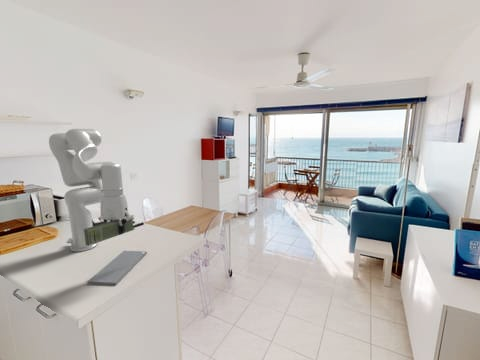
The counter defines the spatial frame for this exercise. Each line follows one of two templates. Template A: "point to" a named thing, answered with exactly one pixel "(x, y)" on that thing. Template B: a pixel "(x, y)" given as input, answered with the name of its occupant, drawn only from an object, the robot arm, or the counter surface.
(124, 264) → the charging dock
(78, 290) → the counter surface
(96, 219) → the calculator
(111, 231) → the handheld radio
